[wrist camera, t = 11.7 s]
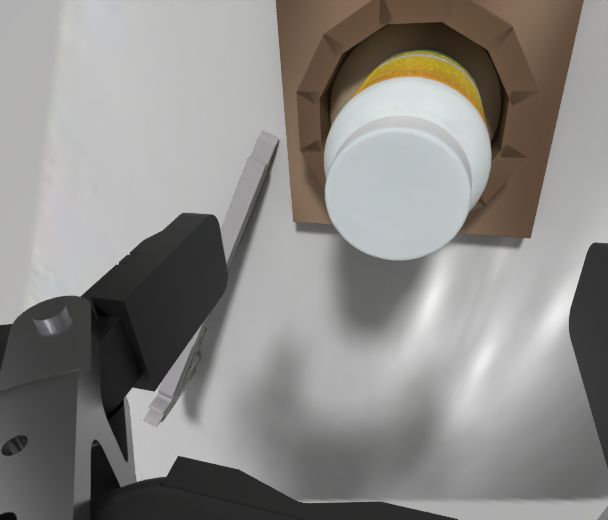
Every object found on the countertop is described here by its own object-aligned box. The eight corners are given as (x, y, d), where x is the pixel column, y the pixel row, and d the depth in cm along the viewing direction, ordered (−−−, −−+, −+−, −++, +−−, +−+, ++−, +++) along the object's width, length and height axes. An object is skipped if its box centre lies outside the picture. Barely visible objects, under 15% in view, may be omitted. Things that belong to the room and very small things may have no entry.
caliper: (196, 371, 37) (154, 439, 31) (184, 365, 37) (139, 432, 31) (281, 137, 25) (235, 183, 19) (262, 128, 25) (211, 172, 19)
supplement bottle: (472, 171, 21) (484, 292, 14) (356, 168, 23) (306, 275, 15) (489, 43, 19) (515, 101, 11) (356, 48, 20) (293, 102, 12)
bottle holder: (590, -61, 17) (613, -64, 15) (527, 228, 23) (536, 259, 21) (280, -37, 20) (256, -37, 18) (298, 213, 26) (282, 239, 24)
